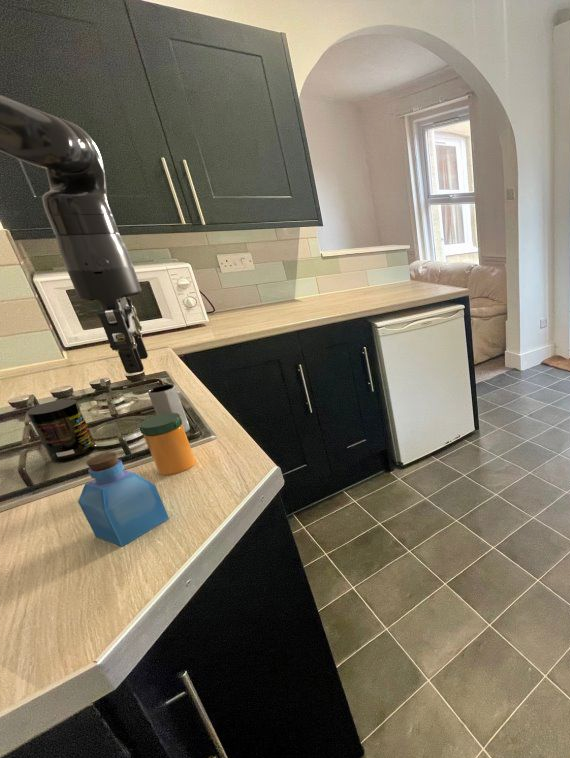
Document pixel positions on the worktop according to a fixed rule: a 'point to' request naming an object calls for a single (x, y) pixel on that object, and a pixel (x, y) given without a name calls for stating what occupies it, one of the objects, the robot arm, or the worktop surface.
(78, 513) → the worktop surface
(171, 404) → the planter
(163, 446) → the jar
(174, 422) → the lid
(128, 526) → the perfume bottle
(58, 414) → the supplement container
